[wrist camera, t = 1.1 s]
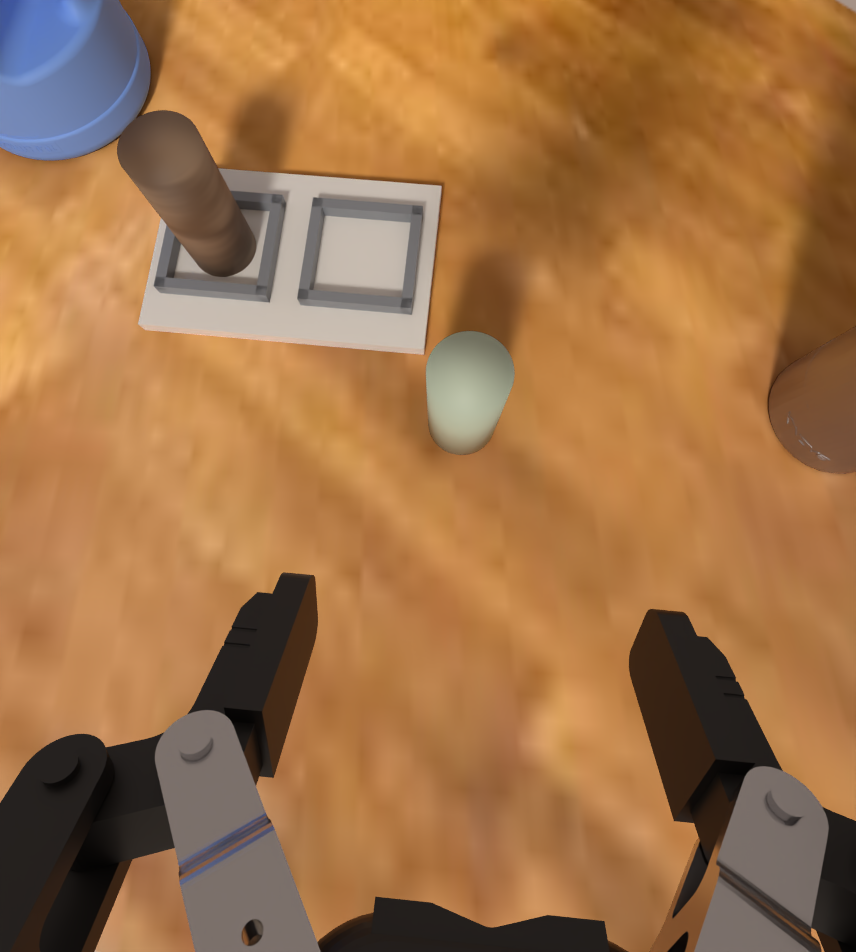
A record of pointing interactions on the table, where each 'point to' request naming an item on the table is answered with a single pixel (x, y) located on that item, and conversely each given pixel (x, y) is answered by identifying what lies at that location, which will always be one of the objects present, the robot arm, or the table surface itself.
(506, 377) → the sage column
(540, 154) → the table surface
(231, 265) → the walnut column
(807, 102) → the table surface
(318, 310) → the base plate
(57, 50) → the water jug
